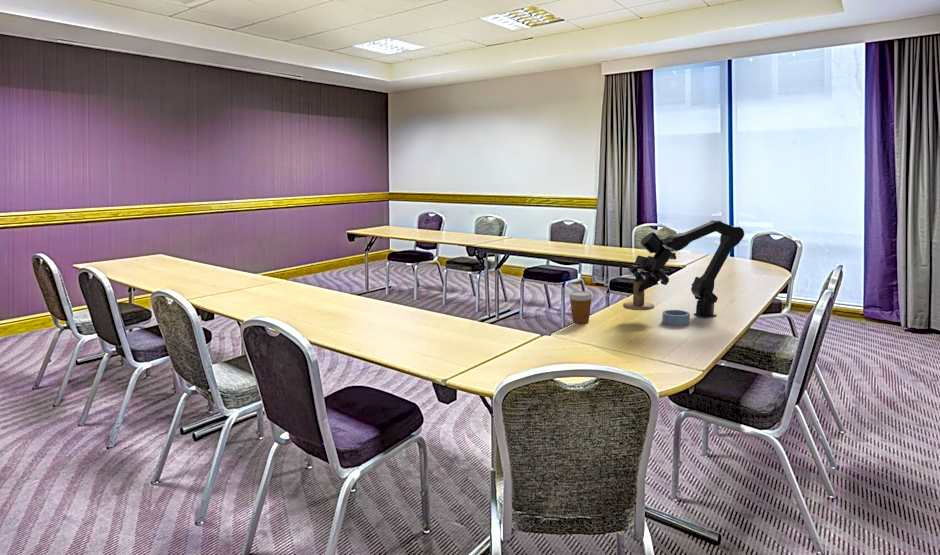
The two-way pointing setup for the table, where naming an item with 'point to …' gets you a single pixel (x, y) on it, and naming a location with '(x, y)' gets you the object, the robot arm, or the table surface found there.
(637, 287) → the walnut lid
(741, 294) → the table surface
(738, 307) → the table surface
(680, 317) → the slate bowl
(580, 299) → the disposable coffee cup
